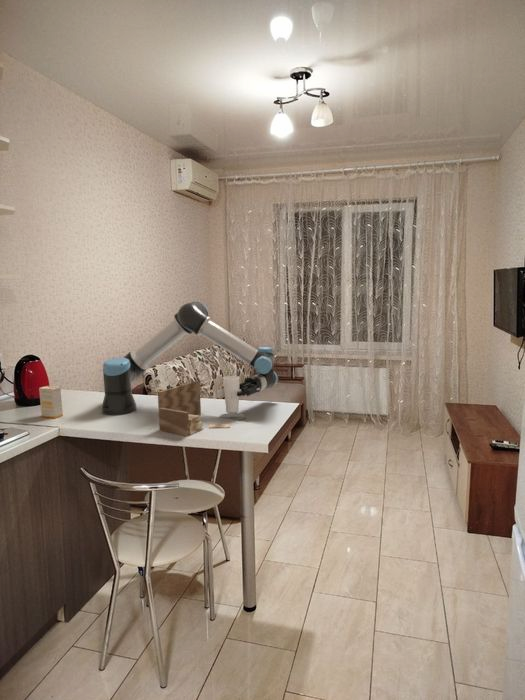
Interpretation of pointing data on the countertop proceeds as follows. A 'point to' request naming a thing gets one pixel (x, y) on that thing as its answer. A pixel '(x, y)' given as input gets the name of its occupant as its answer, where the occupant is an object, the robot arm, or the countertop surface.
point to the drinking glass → (230, 386)
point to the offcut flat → (219, 426)
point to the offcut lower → (195, 428)
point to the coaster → (233, 416)
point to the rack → (178, 407)
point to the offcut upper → (193, 419)
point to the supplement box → (51, 401)
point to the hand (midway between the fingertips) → (224, 394)
